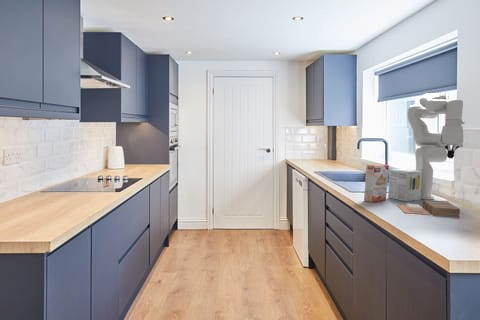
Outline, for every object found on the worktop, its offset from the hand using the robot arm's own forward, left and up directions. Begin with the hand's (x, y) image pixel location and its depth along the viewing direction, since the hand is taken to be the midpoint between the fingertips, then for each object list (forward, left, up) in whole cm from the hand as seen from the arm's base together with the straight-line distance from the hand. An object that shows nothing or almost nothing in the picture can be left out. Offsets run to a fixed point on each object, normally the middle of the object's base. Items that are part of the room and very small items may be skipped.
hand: (450, 158), depth 205 cm
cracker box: (-10, -35, -27) cm, 46 cm away
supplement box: (-23, -17, -27) cm, 40 cm away
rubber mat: (+10, -19, -27) cm, 35 cm away
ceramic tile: (+11, -19, -25) cm, 33 cm away
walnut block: (+10, -6, -27) cm, 30 cm away
